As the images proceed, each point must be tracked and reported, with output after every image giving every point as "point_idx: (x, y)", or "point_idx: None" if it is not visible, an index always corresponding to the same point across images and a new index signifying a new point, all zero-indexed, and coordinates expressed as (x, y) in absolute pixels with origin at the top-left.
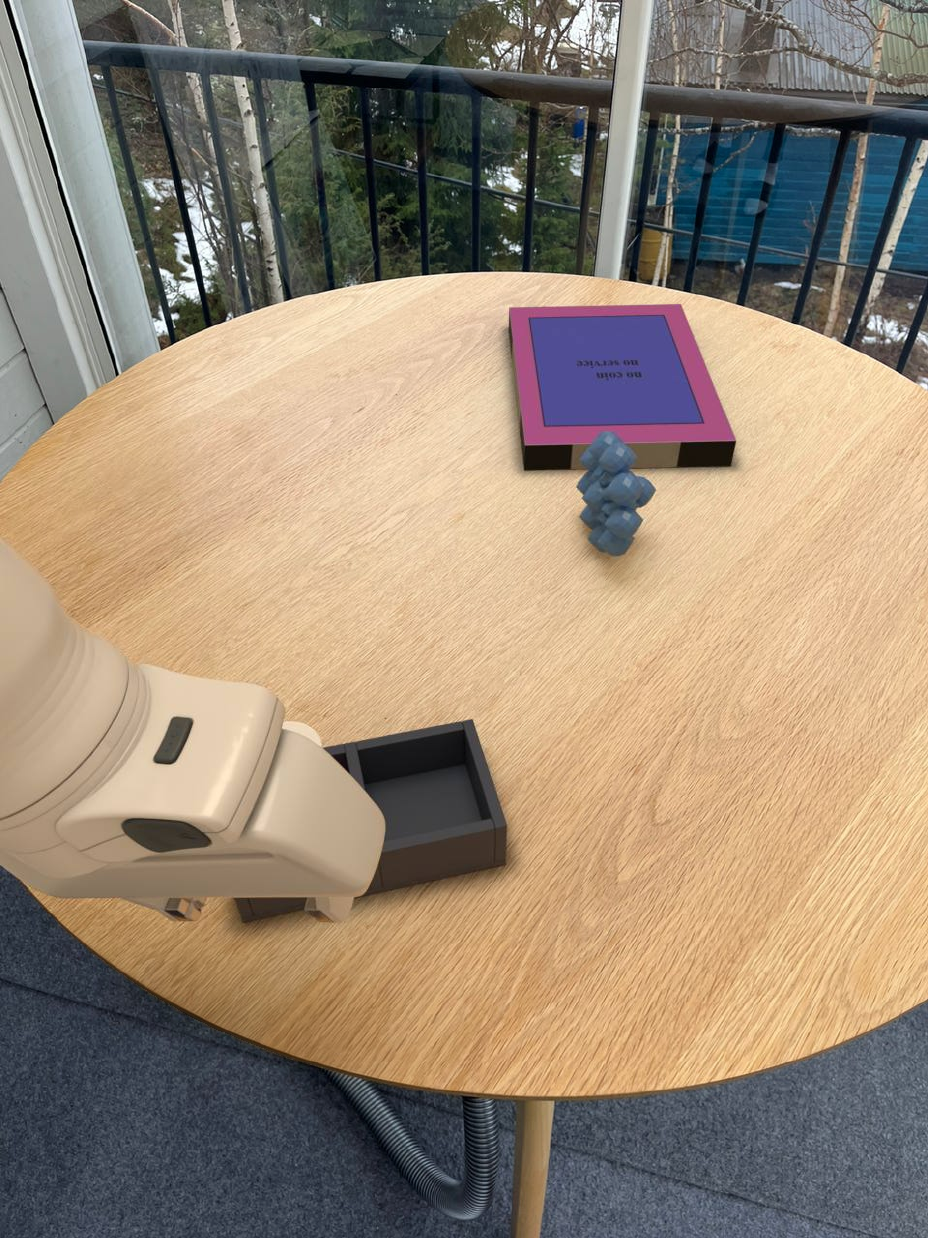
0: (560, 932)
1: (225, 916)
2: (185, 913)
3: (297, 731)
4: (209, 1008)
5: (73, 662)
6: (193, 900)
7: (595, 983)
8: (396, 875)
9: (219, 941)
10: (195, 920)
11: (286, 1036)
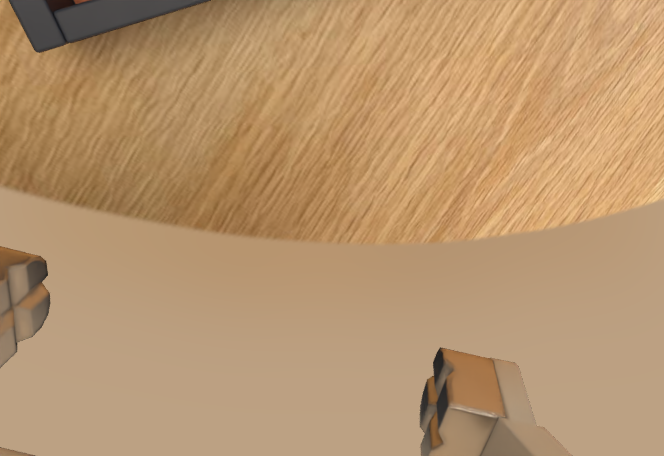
0: (580, 32)
1: None
2: (16, 347)
3: None
4: (72, 198)
5: None
6: (17, 300)
7: (602, 105)
8: None
9: (35, 80)
10: (44, 318)
11: (211, 221)
